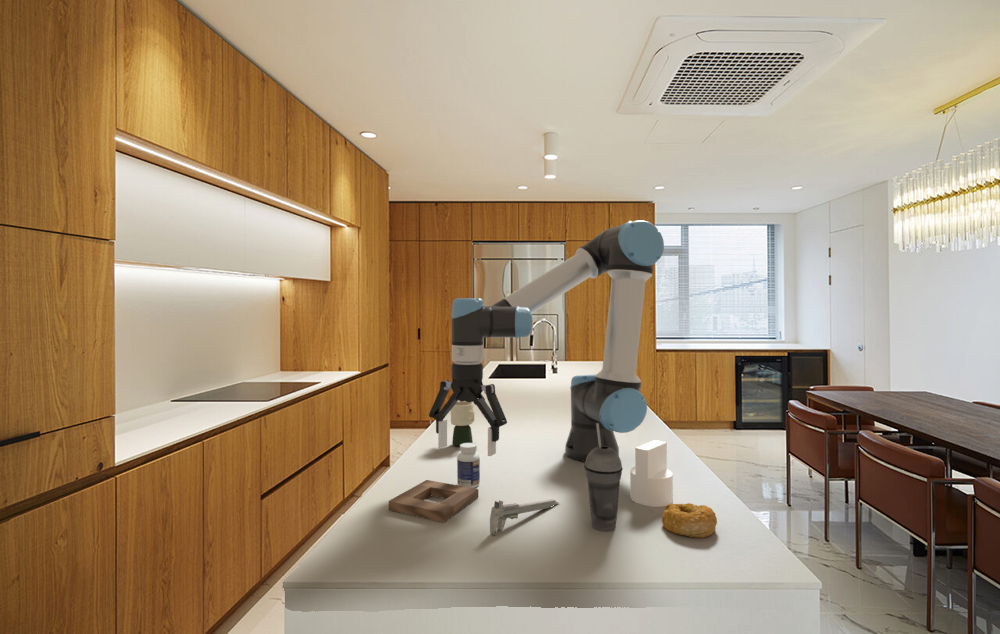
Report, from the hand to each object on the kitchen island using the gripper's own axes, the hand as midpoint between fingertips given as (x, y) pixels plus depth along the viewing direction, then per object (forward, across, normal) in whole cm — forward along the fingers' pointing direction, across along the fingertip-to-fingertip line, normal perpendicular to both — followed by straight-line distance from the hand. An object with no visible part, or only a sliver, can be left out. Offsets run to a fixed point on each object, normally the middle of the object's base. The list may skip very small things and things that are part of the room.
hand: (466, 450), depth 119 cm
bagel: (+8, +50, -1) cm, 51 cm away
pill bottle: (+8, 0, 0) cm, 9 cm away
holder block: (+8, -1, -13) cm, 15 cm away
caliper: (+9, +20, -11) cm, 25 cm away
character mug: (+8, -19, +29) cm, 36 cm away
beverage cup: (+8, +35, -8) cm, 37 cm away
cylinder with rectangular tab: (+8, +41, +10) cm, 43 cm away
